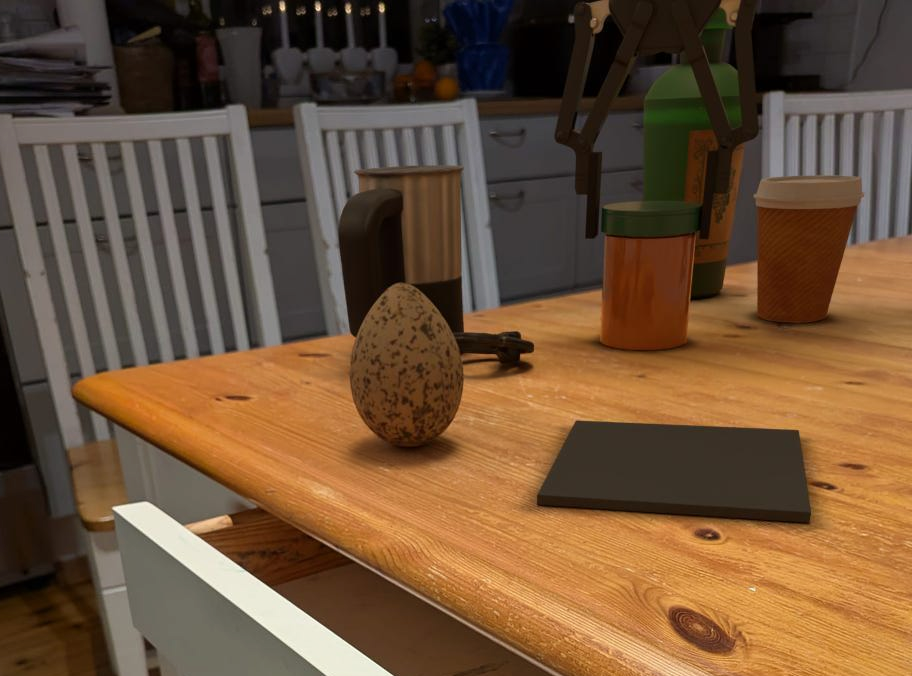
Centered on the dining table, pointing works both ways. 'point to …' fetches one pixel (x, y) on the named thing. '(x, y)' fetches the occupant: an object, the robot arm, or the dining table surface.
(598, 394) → the dining table surface
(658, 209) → the jar lid
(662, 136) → the bottle
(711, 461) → the mat
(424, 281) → the milk frother
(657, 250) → the jam jar
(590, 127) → the robot arm
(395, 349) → the decorative egg
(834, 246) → the disposable coffee cup
